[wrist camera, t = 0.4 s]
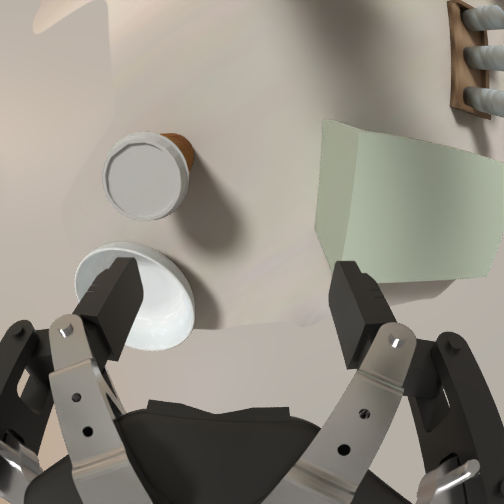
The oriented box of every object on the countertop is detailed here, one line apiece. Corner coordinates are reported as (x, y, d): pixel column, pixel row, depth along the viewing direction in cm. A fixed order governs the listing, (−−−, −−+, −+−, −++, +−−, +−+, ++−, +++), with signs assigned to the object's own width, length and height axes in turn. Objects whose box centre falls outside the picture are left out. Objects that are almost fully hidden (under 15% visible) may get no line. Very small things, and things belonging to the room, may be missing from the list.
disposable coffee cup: (205, 120, 33) (184, 130, 23) (206, 188, 38) (188, 226, 28) (137, 124, 33) (93, 138, 23) (142, 189, 38) (105, 225, 28)
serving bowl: (181, 216, 40) (169, 238, 35) (213, 321, 51) (209, 349, 45) (74, 237, 42) (53, 258, 36) (118, 326, 53) (107, 351, 47)
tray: (446, 1, 21) (481, -8, 13) (477, 17, 21) (512, 13, 13) (450, 106, 30) (489, 114, 22) (479, 116, 30) (516, 128, 22)
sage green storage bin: (323, 118, 33) (358, 131, 22) (461, 143, 33) (519, 169, 21) (314, 228, 41) (336, 284, 30) (442, 232, 41) (486, 277, 30)
